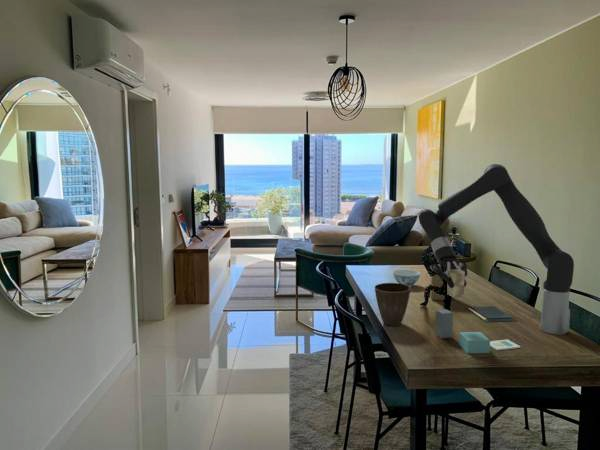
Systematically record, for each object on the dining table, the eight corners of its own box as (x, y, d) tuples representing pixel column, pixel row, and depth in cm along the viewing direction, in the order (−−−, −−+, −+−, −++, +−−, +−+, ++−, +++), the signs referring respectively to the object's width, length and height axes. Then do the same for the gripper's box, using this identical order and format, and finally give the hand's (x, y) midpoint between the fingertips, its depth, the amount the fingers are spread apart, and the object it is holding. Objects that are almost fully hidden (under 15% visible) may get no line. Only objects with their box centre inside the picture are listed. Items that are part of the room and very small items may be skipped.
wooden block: (450, 296, 226) (452, 258, 224) (451, 301, 217) (453, 262, 214) (430, 295, 229) (431, 257, 227) (431, 300, 220) (432, 261, 217)
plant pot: (384, 331, 178) (384, 293, 176) (368, 319, 192) (368, 284, 190) (416, 327, 182) (417, 290, 180) (398, 316, 196) (399, 281, 194)
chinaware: (421, 289, 239) (421, 276, 238) (393, 288, 242) (393, 275, 241) (418, 282, 254) (418, 269, 253) (392, 282, 256) (392, 269, 255)
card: (507, 340, 167) (507, 339, 167) (520, 347, 160) (520, 346, 160) (484, 343, 165) (484, 341, 165) (496, 350, 158) (496, 348, 158)
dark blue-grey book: (518, 318, 188) (483, 319, 187) (518, 323, 188) (483, 323, 188) (496, 304, 208) (464, 305, 207) (496, 308, 208) (464, 309, 207)
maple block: (457, 293, 173) (458, 269, 172) (463, 296, 169) (464, 271, 168) (447, 294, 172) (447, 269, 171) (453, 297, 168) (454, 272, 167)
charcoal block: (445, 333, 176) (446, 309, 174) (451, 337, 171) (452, 312, 170) (435, 334, 175) (436, 310, 173) (441, 338, 170) (442, 313, 169)
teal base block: (479, 344, 164) (480, 332, 164) (489, 353, 156) (490, 340, 156) (458, 345, 164) (459, 332, 163) (467, 353, 156) (467, 340, 156)
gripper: (430, 246, 174) (446, 283, 164) (462, 244, 177) (479, 280, 167) (423, 256, 180) (438, 292, 170) (454, 254, 183) (470, 290, 173)
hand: (458, 286), depth 168 cm, fingers closed on maple block, 4 cm apart
